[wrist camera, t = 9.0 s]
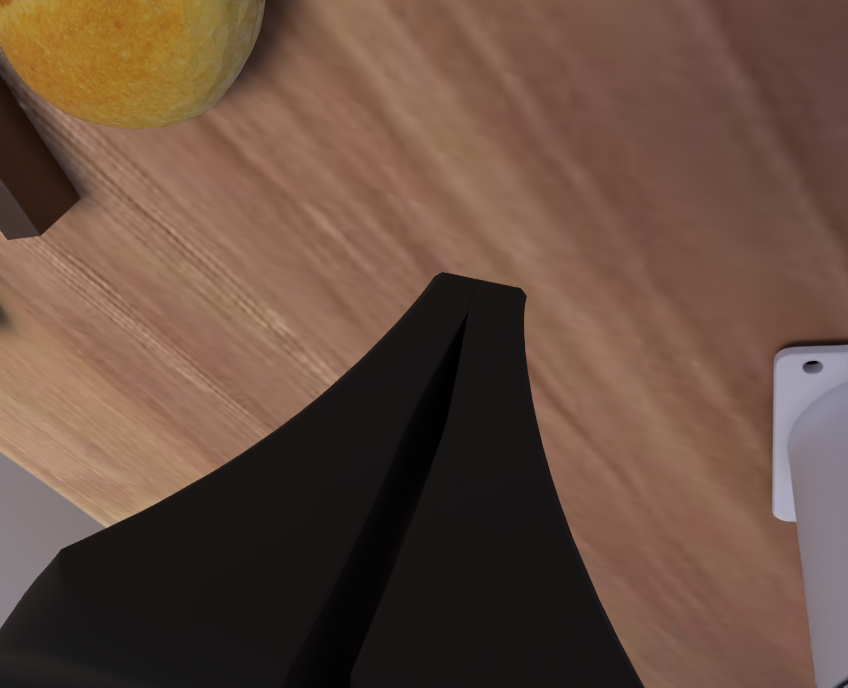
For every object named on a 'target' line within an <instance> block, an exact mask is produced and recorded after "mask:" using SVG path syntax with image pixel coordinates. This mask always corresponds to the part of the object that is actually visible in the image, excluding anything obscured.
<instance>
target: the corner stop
mask: <svg viewBox="0 0 848 688" xmlns="http://www.w3.org/2000/svg"><path fill="white" fill-rule="evenodd" d="M78 201H79V197H78V196H77V194H76V192H75V191H74V189H73V188H72V186H71V185H70V183H69V182H68V180H67V179H66V177H65V176H64V174H63V172H62V171H61V169H60V168H59V166H58V165H57V163H56V162H55V160H54V159H53V157H52V156H51V154H50V152H49V151H48V149H47V148H46V146H45V145H44V143H43V142H42V140H41V139H40V137H39V136H38V134H37V132H36V131H35V129H34V128H33V126H32V125H31V123H30V122H29V120H28V119H27V117H26V116H25V114H24V112H23V111H22V109H21V108H20V106H19V105H18V103H17V102H16V100H15V99H14V97H13V96H12V94H11V92H10V91H9V89H8V88H7V86H6V85H5V83H4V82H3V80H2V79H1V77H0V230H1V232H2V233H3V235H4V236H5V237H6V239H8V240H12V239H20V238H27V237H35V236H41V235H42V234H43V233H44V232H45V231H46V230H48V229H49V228H50V227H51V226H52V225H53V224H54V223H55V222H56V221H57V220H58V219H59V218H60V217H62V216H63V215H64V214H65V213H66V212H67V211H68V210H69V209H70V208H71V207H72V206H73V205H74V204H75V203H77V202H78Z"/></svg>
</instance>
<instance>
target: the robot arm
mask: <svg viewBox="0 0 848 688" xmlns="http://www.w3.org/2000/svg"><path fill="white" fill-rule="evenodd" d="M526 297H527V296H526V294H525V293H524V292H523V290H522V289H521V288H517V287H512V286H507V285H503V284H498V283H493V282H488V281H483V280H478V279H474V278H469V277H464V276H459V275H454V274H449V273H444V272H442V273H440V274H438V275H436V276H435V277H434V278H433V280H432V281H431V282H430V284H429V285H428V286H427V288H426V289H425V290H424V291H423V293H422V294H421V295H420V296H419V298H418V299H417V300H416V301H415V302H414V304H413V305H412V306H411V307H410V308H409V310H408V311H407V312H406V313H405V314H404V315H403V316H402V317H401V318H400V320H399V321H398V322H397V323H396V324H395V325H394V326H393V327H392V328H391V329H390V330H389V331H388V332H387V333H386V334H385V335H384V336H383V338H382V339H381V340H380V341H379V342H378V343H377V344H376V345H375V346H374V347H373V348H372V349H371V350H370V351H369V352H368V353H367V354H366V355H365V356H364V357H363V358H362V359H361V360H360V361H359V362H357V363H356V364H355V365H354V366H353V367H352V368H351V369H350V370H349V371H347V372H346V373H345V374H344V375H343V376H342V377H341V378H340V379H339V380H338V381H336V382H335V383H334V384H333V385H332V386H331V387H330V388H329V389H328V390H326V391H325V392H324V393H323V394H322V395H320V396H319V397H318V398H317V399H316V400H314V401H313V402H312V403H311V404H309V405H308V406H307V407H306V408H304V409H303V410H302V411H301V412H299V413H298V414H297V415H295V416H294V417H293V418H291V419H290V420H289V421H287V422H286V423H285V424H283V425H282V426H281V427H279V428H278V429H277V430H275V431H274V432H273V433H271V434H270V435H268V436H267V437H265V438H264V439H262V440H261V441H259V442H258V443H256V444H255V445H253V446H252V447H251V448H249V449H248V450H246V451H245V452H243V453H242V454H240V455H239V456H237V457H236V458H234V459H232V460H231V461H229V462H228V463H226V464H225V465H223V466H221V467H220V468H218V469H217V470H215V471H213V472H211V473H210V474H208V475H206V476H204V477H203V478H201V479H199V480H197V481H196V482H194V483H192V484H190V485H189V486H187V487H185V488H183V489H181V490H180V491H178V492H176V493H174V494H173V495H171V496H169V497H167V498H166V499H164V500H162V501H160V502H159V503H157V504H155V505H153V506H151V507H149V508H147V509H145V510H143V511H141V512H139V513H137V514H135V515H133V516H131V517H129V518H127V519H125V520H122V521H120V522H118V523H116V524H114V525H112V526H110V527H108V528H106V529H104V530H101V531H100V532H97V533H95V534H93V535H91V536H89V537H87V538H85V539H83V540H80V541H78V542H76V543H74V544H72V545H69V546H67V547H65V548H63V549H61V550H60V552H59V553H58V554H57V555H56V557H55V558H54V559H53V560H52V561H51V563H50V564H49V565H48V566H47V567H46V568H45V570H44V571H43V572H42V573H41V574H40V575H39V576H38V577H37V579H36V580H35V581H34V582H33V584H32V585H31V586H30V587H29V589H28V590H27V591H26V593H25V594H24V595H23V597H22V598H21V600H20V601H19V603H18V604H17V606H16V607H15V609H14V610H13V611H12V613H11V614H10V616H9V617H8V619H7V620H6V621H5V623H4V624H3V626H2V627H1V629H0V688H645V687H644V686H643V684H642V682H641V680H640V678H639V677H638V675H637V673H636V671H635V669H634V667H633V665H632V664H631V662H630V660H629V658H628V656H627V654H626V652H625V650H624V648H623V647H622V645H621V643H620V641H619V639H618V637H617V635H616V633H615V631H614V629H613V627H612V624H611V622H610V620H609V618H608V616H607V614H606V612H605V610H604V608H603V606H602V604H601V602H600V600H599V598H598V595H597V593H596V591H595V588H594V586H593V584H592V581H591V579H590V577H589V574H588V572H587V570H586V567H585V565H584V563H583V560H582V558H581V556H580V553H579V551H578V549H577V546H576V544H575V542H574V539H573V537H572V534H571V532H570V529H569V526H568V523H567V521H566V518H565V515H564V512H563V510H562V507H561V504H560V501H559V498H558V495H557V492H556V489H555V486H554V483H553V480H552V477H551V473H550V470H549V466H548V463H547V459H546V456H545V452H544V448H543V445H542V441H541V436H540V432H539V428H538V424H537V420H536V415H535V410H534V405H533V400H532V394H531V388H530V382H529V376H528V370H527V362H526V353H525V339H524V310H525V302H526ZM808 361H819V362H818V363H816V364H811V365H810V364H805V363H807V362H808ZM772 511H773V514H774V516H775V517H777V518H778V519H781V520H783V521H795V522H796V523H797V532H798V540H799V548H800V557H801V565H802V573H803V582H804V590H805V598H806V607H807V615H808V624H809V632H810V640H811V649H812V657H813V666H814V674H815V682H816V688H848V345H835V346H808V347H790V348H785V349H783V350H781V351H779V352H778V353H777V354H776V355H775V357H774V367H773V455H772Z"/></svg>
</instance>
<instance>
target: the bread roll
mask: <svg viewBox="0 0 848 688" xmlns="http://www.w3.org/2000/svg"><path fill="white" fill-rule="evenodd" d="M265 1H266V0H0V46H1V48H2V50H3V52H4V54H5V56H6V57H7V59H8V61H9V62H10V64H11V66H12V67H13V68H14V70H15V71H16V72H17V74H18V75H19V76H20V78H21V79H22V80H23V81H24V82H25V83H26V85H27V86H28V87H29V88H30V89H31V90H33V91H34V92H35V93H36V94H38V95H39V96H41V97H42V98H44V99H45V100H46V101H48V102H49V103H51V104H52V105H54V106H55V107H57V108H58V109H60V110H62V111H63V112H65V113H67V114H70V115H72V116H74V117H76V118H79V119H81V120H84V121H87V122H91V123H96V124H101V125H105V126H111V127H118V128H128V129H144V128H158V127H165V126H169V125H174V124H178V123H181V122H184V121H187V120H189V119H191V118H193V117H195V116H198V115H200V114H202V113H203V112H205V111H206V110H208V109H210V108H211V107H212V106H214V105H215V104H216V103H217V102H218V101H219V100H220V99H221V98H222V96H223V95H224V94H225V93H226V91H227V90H228V88H229V87H230V86H231V85H232V84H233V83H234V81H235V79H236V78H237V76H238V75H239V73H240V72H241V70H242V69H243V66H244V64H245V62H246V60H247V59H248V57H249V56H250V54H251V52H252V50H253V47H254V45H255V42H256V40H257V37H258V34H259V32H260V28H261V24H262V19H263V14H264V7H265Z"/></svg>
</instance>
